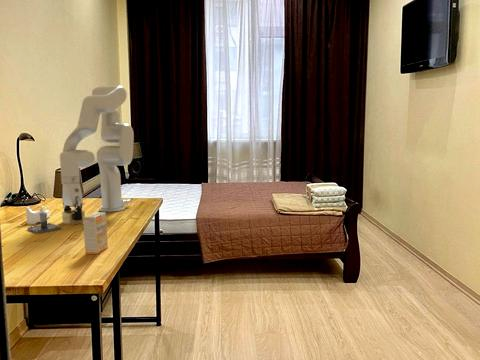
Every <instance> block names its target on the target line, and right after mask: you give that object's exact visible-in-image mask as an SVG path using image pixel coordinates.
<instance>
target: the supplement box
mask: <svg viewBox="0 0 480 360" xmlns="http://www.w3.org/2000/svg"><path fill="white" fill-rule="evenodd" d="M82 224H83V235H84V237H83V239H84V240H83V241H84V251H85V252H84V253H85V255H99V254H100V253H102V252H103V251H104V250H106V249H108V245H109V244H108V233H107V232H108V230H107V228H108V227H107V215H106V212H102V211H96V212H92V213H90V214H87V215H85V217H83V223H82Z"/></svg>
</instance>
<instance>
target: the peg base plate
mask: <svg viewBox="0 0 480 360" xmlns="http://www.w3.org/2000/svg"><path fill="white" fill-rule="evenodd" d="M39 223H40V224H39V225H31V226H29V227H27V230H28V231H29V232H32V233H34V234H37V235H38V234H43V233H49V232H54V231H58V230H59V231H60V230H62V227H61V226H60V225H58V224H54V223H51V222H48V218H47V213H46V212H43V213H40V222H39Z"/></svg>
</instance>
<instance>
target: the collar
mask: <svg viewBox="0 0 480 360" xmlns="http://www.w3.org/2000/svg"><path fill="white" fill-rule="evenodd" d="M74 212H75V210H74V209H71V210H70V211H64V210H63V211H62V212H61V215H62V216H61V217H62V224H65V225H67V226H74V225H79V224H83V217H85V216H86V215H85V214H86V213H85V210H82V220H78V221H75V217H74Z"/></svg>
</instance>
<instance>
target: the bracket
mask: <svg viewBox="0 0 480 360" xmlns="http://www.w3.org/2000/svg"><path fill="white" fill-rule="evenodd" d="M25 212H26V214H25V215H26V224H27V225H35V224H38V223H41V222H40V213H43V212H46V213H47V219H48V218H49V217H50V216H51V210H50V209H46V210H45V205H41V207H40V210H32V209H31V207H30V206H27V207H26V208H25Z"/></svg>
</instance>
